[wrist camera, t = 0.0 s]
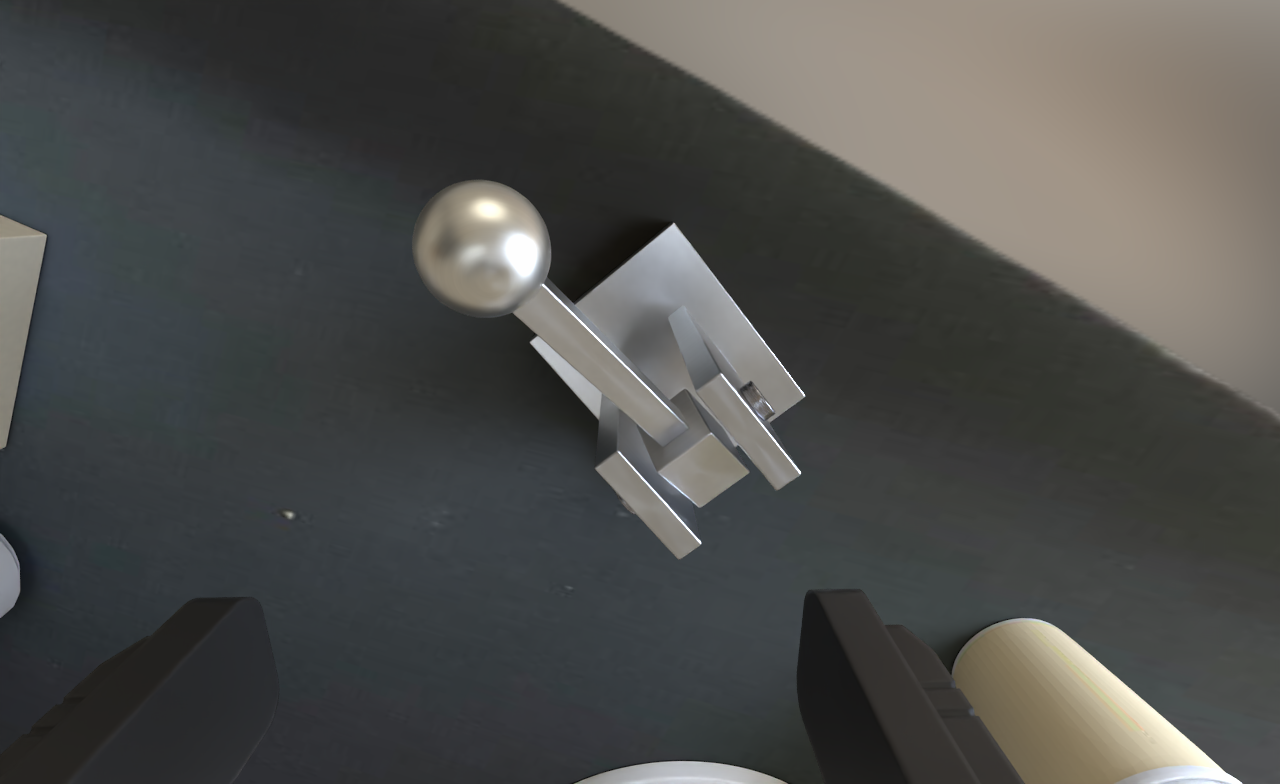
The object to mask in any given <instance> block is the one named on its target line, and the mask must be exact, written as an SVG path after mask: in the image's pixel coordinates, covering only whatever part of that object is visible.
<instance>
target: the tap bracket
mask: <svg viewBox="0 0 1280 784" xmlns="http://www.w3.org/2000/svg"><path fill="white" fill-rule="evenodd" d="M573 304H574V305H575V306H576V307H577V308H578V309H579V310H580V311H581V312H582V313H583V314H584V315H585V316H586V317H587V318H588V319H589V320H590V321H591V322H592V323H593V324H594V325H595V326H596V327H597V328H598V329H599V330H600V331H601V332H602V333H603V334H604V335H605V336H606V337H607V338H608V339H609V340H610V341H611V342H612V343H613V344H614V345H615V346H616V347H617V348H618V349H619V350H620V351H621V352H622V353H623V354H624V355H625V356H626V357H627V358H628V359H629V360H630V361H631V362H632V363H633V364H634V365H635V366H636V367H637V368H638V369H639V370H640V371H641V372H642V373H643V374H644V375H645V376H646V377H647V378H648V379H649V380H650V381H651V382H652V383H653V384H654V385H655V386H656V387H657V388H658V389H659V390H660V391H661V392H662V393H663V394H664V395H665V396H666V397H667V398H668V399H669V400H671V399H672V398H673V397H674V396H676V395H677V394H678V393H680V392H681V391H682V390H684V389H687V390H688V391H689V392H690V393H691V394H692V396H693V397H694V398H695V399H696V400H697V401H698V402H699V403H700V404H701V405H702V406H703V407H704V408H705V409H706V410H707V411H708V412H709V414H710V415H711V416H712V417H713V418H714V419H715V420H716V421H717V422H718V423H719V424H720V425H721V426H722V427H723V429H724V430H725V432H726V433H727V435H728V437H729V438H730V440H731V441H732V443H733V445H734V446H735V447H737V446H738V445H739V446H740V447H741V448H742V450H743V451H744V452H745V453H746V455H747V456H748V457H749V458H750V459H751V461H752V462H753V463H754V464H755V465H756V467H757V468H758V469H759V470H760V472H761V473H762V474H763V475H764V476H765V478H766V479H767V480H768V481H769V483H770V484H771V485H772V486H773V487H774V489H775V490H779V489H781V488H782V487H784V486H785V485H787V484H788V483H789V482H791V481H792V480H794V479H795V478H797V477H798V476H799V475H800V474H801V471H800V470H799V468H798V467H797V465H796V463H795V462H794V460H793V459H792V457H791V456H790V454H789V453H788V451H787V450H786V448H785V446H784V445H783V443H782V442H781V440H780V439H779V437H778V436H777V434H776V433H775V431H774V429H773V428H772V426H771V425H770V422H771V421H772V420H774V419H775V418H777V417H778V416H779V415H781V414H782V413H783V412H785V411H786V410H788V409H789V408H790V407H792V406H793V405H794V404H796V403H797V402H799V401H800V400H801V399H803V398H804V397H805V394H804V393H803V392H802V390H801V389H800V388H799V386H798V385H797V384H796V382H795V381H794V380H793V378H792V377H791V376H790V375H789V373H788V372H787V371H786V369H785V368H784V367H783V365H782V364H781V363H780V361H779V360H778V359H777V357H776V356H775V355H774V353H773V352H772V351H771V349H770V348H769V347H768V345H767V344H766V343H765V342H764V340H763V339H762V338H761V336H760V335H759V334H758V332H757V331H756V330H755V328H754V327H753V326H752V324H751V323H750V322H749V320H748V319H747V318H746V316H745V315H744V314H743V312H742V311H741V310H740V309H739V307H738V306H737V305H736V303H735V302H734V301H733V299H732V298H731V297H730V295H729V294H728V293H727V291H726V290H725V289H724V287H723V286H722V285H721V283H720V282H719V281H718V279H717V278H716V277H715V275H714V274H713V273H712V272H711V270H710V269H709V268H708V266H707V265H706V264H705V262H704V261H703V260H702V258H701V257H700V256H699V254H698V253H697V252H696V250H695V249H694V248H693V246H692V245H691V244H690V242H689V241H688V240H687V239H686V237H685V236H684V235H683V233H682V232H681V231H680V229H679V228H678V227H677V225H676V224H675V223H674V222H670V223H669V224H668V225H667V226H666V227H664V228H663V229H662V230H661V231H660V232H658V233H657V234H656V235H655V236H654V237H652V238H651V239H650V240H649V241H647V242H646V243H645V244H644V245H643V246H641V247H640V248H639V249H638V250H637V251H635V252H634V253H633V254H632V255H631V256H629V257H628V258H627V259H626V260H624V261H623V262H622V263H621V264H620V265H618V266H617V267H616V268H615V269H614V270H612V271H611V272H610V273H609V274H608V275H606V276H605V277H604V278H603V279H602V280H600V281H599V282H598V283H597V284H595V285H594V286H593V287H592V288H591V289H589V290H588V291H587V292H586V293H585V294H583V295H582V296H581V297H580V298H579V299H577V300H576V301H575V302H574V303H573ZM530 344H531V345H532V346H533V347H534V348H535V349H536V351H537V352H538V353H539V354H540V355H541V356H542V357H543V358H544V360H545V361H546V362H547V363H548V364H549V365H550V366H551V367H552V369H553V370H554V371H555V372H556V373H557V374H558V375H559V376H560V378H561V379H562V380H563V381H564V382H565V383H566V384H567V385H568V386H569V388H570V389H571V390H572V391H573V392H574V393H575V394H576V395H577V397H578V398H579V399H580V400H581V401H582V402H583V403H584V404H585V406H586V407H587V408H588V409H589V410H590V411H591V412H592V413H593V415H594V416H595V417H596V418H597V419H598V420H599V427H598V438H597V448H596V459H595V470H596V471H597V472H598V473H599V474H600V475H601V476H602V477H603V478H604V479H605V481H606V482H607V483H608V484H609V485H610V486H611V487H612V488H613V489H614V490H615V493H616V495H617V497H618V499H619V500H620V502H621V503H622V504H623V505H624V507H625V508H626V509H627V510H628V511H630V512H631V513H632V514H635V515H638V516H639V517H640V519H641V520H642V521H643V522H644V523H645V524H646V525H647V526H648V527H649V528H650V529H651V530H652V532H653V533H654V534H655V535H656V536H657V537H658V538H659V539H660V540H661V541H662V542H663V544H664V545H665V546H666V547H667V548H668V549H669V550H670V551H671V552H672V553H673V554H674V555H675V557H676V558H677V559H681V558H683V557H684V556H686V555H687V554H688V553H690V552H691V551H693V550H694V549H696V548H697V547H698V546H700V545H701V544H702V543H701V538H700V534H699V530H698V525H697V521H696V517H695V512H694V508H693V504H692V501H691V500H689V499H688V498H687V497H686V496H685V495H683V494H682V493H681V492H680V491H679V490H677V489H676V488H675V487H674V486H673V485H671V484H670V483H669V482H668V481H667V480H665V479H664V478H663V477H662V476H661V475H659V474H658V473H657V471H656V469H655V467H654V464H653V462H652V460H651V458H650V456H649V453H648V451H647V449H646V447H645V445H644V442H643V440H642V438H641V436H640V434H639V431H638V429H637V424H636V423H635V422H634V421H633V420H632V419H630V418H629V417H628V416H627V415H626V414H625V413H624V412H623V411H621V410H620V409H619V408H618V407H617V406H616V405H615V404H614V403H613V402H611V401H610V400H609V399H608V398H607V397H606V396H605V395H604V394H602V393H601V392H600V391H599V390H598V389H597V388H596V387H595V386H594V385H592V384H591V383H590V382H589V381H588V380H587V379H586V378H585V377H584V376H582V375H581V374H580V373H579V372H578V371H577V370H576V369H575V368H573V367H572V366H571V365H570V364H569V363H568V362H567V361H566V360H565V359H563V358H562V357H561V356H560V355H559V354H558V353H557V352H556V351H554V350H553V349H552V348H551V347H550V346H549V345H548V344H547V343H546V342H544V341H543V340H542V339H541V338H540V337H539V336H538V335H537V334H535V335H534V336H533V337H532V338H531V340H530Z"/></svg>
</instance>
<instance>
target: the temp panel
mask: <svg viewBox="0 0 1280 784" xmlns="http://www.w3.org/2000/svg"><path fill="white" fill-rule="evenodd" d="M46 239H47V235H46V234H43V233H41V232H39V231H36V230H34V229H32V228H29V227H27V226H25V225H22V224H20V223H18V222H16V221H13V220H11V219H9V218H6V217H4V216H2V215H0V449H2V448H5V447H6V445H7V440H8V435H9V429H10V424H11V419H12V414H13V409H14V404H15V399H16V393H17V388H18V383H19V378H20V373H21V368H22V362H23V357H24V352H25V347H26V342H27V337H28V331H29V326H30V321H31V316H32V311H33V306H34V301H35V295H36V290H37V285H38V280H39V275H40V270H41V264H42V259H43V254H44V249H45V244H46Z"/></svg>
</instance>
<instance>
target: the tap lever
mask: <svg viewBox="0 0 1280 784" xmlns="http://www.w3.org/2000/svg"><path fill="white" fill-rule="evenodd" d="M412 250H413V257H414V262H415V265H416V269H417V271H418V273H419V276H420V278H421V279H422V281H423V283H424V284H425V286H426V287H427V289H428V290H429V291H430V292H431V293H432V294H433V295H434V296H435V297H436V298H437V299H438V300H439V301H440V302H441V303H443V304H444V305H446V306H447V307H449V308H451V309H452V310H454V311H457V312H459V313H462V314H465V315H468V316H472V317H479V318H492V317H499V316H503V315H507V314H510V313H513V314H514V315H515V316H517V317H518V318H519V319H520V320H521V321H522V322H523V323H524V324H525V325H527V326H528V327H529V328H530V329H531V330H532V331H533V332H534V333H536V334H537V335H538V336H539V337H540V338H541V339H542V340H543V341H544V342H546V343H547V344H548V345H549V346H550V347H551V348H552V349H553V350H554V351H556V352H557V353H558V354H559V355H560V356H561V357H562V358H563V359H565V360H566V361H567V362H568V363H569V364H570V365H571V366H572V367H573V368H575V369H576V370H577V371H578V372H579V373H580V374H581V375H582V376H584V377H585V378H586V379H587V380H588V381H589V382H590V383H591V384H592V385H594V386H595V387H596V388H597V389H598V390H599V391H600V392H601V393H602V394H604V395H605V396H606V397H607V398H608V399H609V400H610V401H611V402H613V403H614V404H615V405H616V406H617V407H618V408H619V409H620V410H621V411H623V412H624V413H625V414H626V415H627V416H628V417H629V418H630V419H632V420H633V421H634V422H635V423H636V424H637V429H638V431H639V434H640V436H641V438H642V440H643V442H644V445H645V447H646V449H647V451H648V453H649V456H650V458H651V460H652V462H653V464H654V467H655V469H656V471H657V473H658V474H659V475H661V476H662V477H663V478H664V479H665V480H667V481H668V482H669V483H670V484H671V485H673V486H674V487H675V488H676V489H677V490H679V491H680V492H681V493H682V494H683V495H685V496H686V497H687V498H688V499H689V500H691V501H692V502H693V503H694V504H695V505H697V506H698V507H699V508H700V507H702V506H704V505H705V504H706V503H708V502H709V501H711V500H712V499H713V498H715V497H716V496H718V495H719V494H720V493H722V492H723V491H725V490H726V489H727V488H729V487H730V486H732V485H733V484H734V483H736V482H737V481H739V480H740V479H741V478H743V477H744V476H746V475H747V474H748V473H749V469H748V467H747V466H746V464H745V462H744V461H743V459H742V458H741V456H740V454H739V453H738V451H737V450H736V448H735V446H734V445H733V443H732V441H731V440H730V438H729V437H728V435H727V433H726V432H725V430H724V429H723V427H722V426H721V425H720V424H719V423H718V422H717V421H716V420H715V419H714V418H713V417H712V416H711V415H710V414H709V412H708V411H707V410H706V409H705V408H704V407H703V406H702V405H701V404H700V403H699V402H698V401H697V400H696V399H695V398H694V397H693V396H692V394H691V393H690V392H689V391H688V390H687V389H684V390H682V391H681V392H680V393H678V394H677V395H676V396H674V397H673V398H672V399H671V400H669V399H668V398H667V397H666V396H665V395H664V394H663V393H662V392H661V391H660V390H659V389H658V388H657V387H656V386H655V385H654V384H653V383H652V382H651V381H650V380H649V379H648V378H647V377H646V376H645V375H644V374H643V373H642V372H641V371H640V370H639V369H638V368H637V367H636V366H635V365H634V364H633V363H632V362H631V361H630V360H629V359H628V358H627V357H626V356H625V355H624V354H623V353H622V352H621V351H620V350H619V349H618V348H617V347H616V346H615V345H614V344H613V343H612V342H611V341H610V340H609V339H608V338H607V337H606V336H605V335H604V334H603V333H602V332H601V331H600V330H599V329H598V328H597V327H596V326H595V325H594V324H593V323H592V322H591V321H590V320H589V319H588V318H587V317H586V316H585V315H584V314H583V313H582V312H581V311H580V310H579V309H578V308H577V307H576V306H575V305H574V304H573V303H572V302H571V301H570V300H569V299H568V298H567V297H566V296H565V295H564V294H563V293H562V292H561V291H560V290H559V289H558V288H557V287H556V286H555V285H554V284H553V283H552V282H551V281H550V280H549V278H548V277H547V275H548V271H549V268H550V262H551V243H550V238H549V234H548V231H547V227H546V225H545V223H544V221H543V219H542V217H541V216H540V214H539V212H538V211H537V210H536V208H535V207H534V206H533V205H532V203H531V202H530V201H528V200H527V199H526V198H525V197H524V196H523V195H521V194H520V193H518V192H517V191H516V190H514V189H512V188H510V187H508V186H506V185H503V184H501V183H497V182H493V181H488V180H469V181H463V182H459V183H455V184H453V185H451V186H448V187H446V188H445V189H443V190H441V191H440V192H438V193H437V194H436V195H435V196H433V197H432V198H431V199H430V200H429V202H428V203H427V204H426V205H425V207H424V208H423V210H422V211H421V213H420V215H419V217H418V219H417V221H416V225H415V228H414V233H413V240H412Z"/></svg>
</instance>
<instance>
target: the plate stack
mask: <svg viewBox="0 0 1280 784" xmlns="http://www.w3.org/2000/svg"><path fill="white" fill-rule="evenodd" d="M574 784H788V783H786V782H783V781H781V780H779V779H776V778H774V777H772V776H769V775H766V774H763V773H760V772H757V771H753V770H749V769H746V768H741V767H737V766H732V765H726V764H719V763H711V762H698V761H669V762H656V763H647V764H640V765H634V766H629V767H624V768H619V769H615V770H611V771H608V772H604V773H601V774H598V775H595V776H592V777H589V778H587V779H584V780H582V781H579V782H577V783H574Z"/></svg>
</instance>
